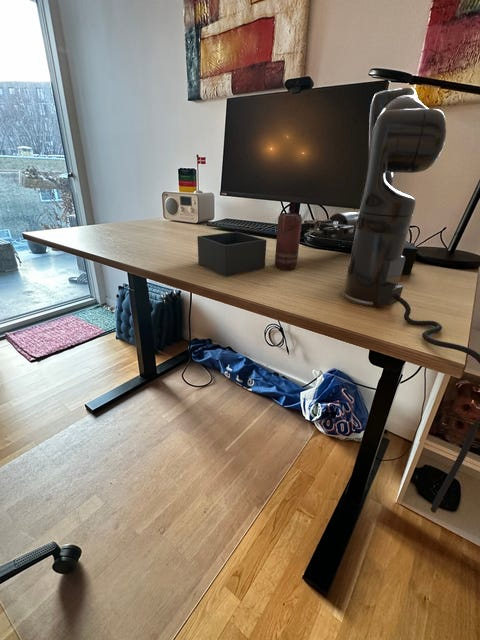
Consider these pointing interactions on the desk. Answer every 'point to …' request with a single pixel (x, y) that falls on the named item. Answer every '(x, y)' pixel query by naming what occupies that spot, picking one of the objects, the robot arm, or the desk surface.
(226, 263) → the bin
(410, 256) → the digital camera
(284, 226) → the can
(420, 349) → the desk surface
